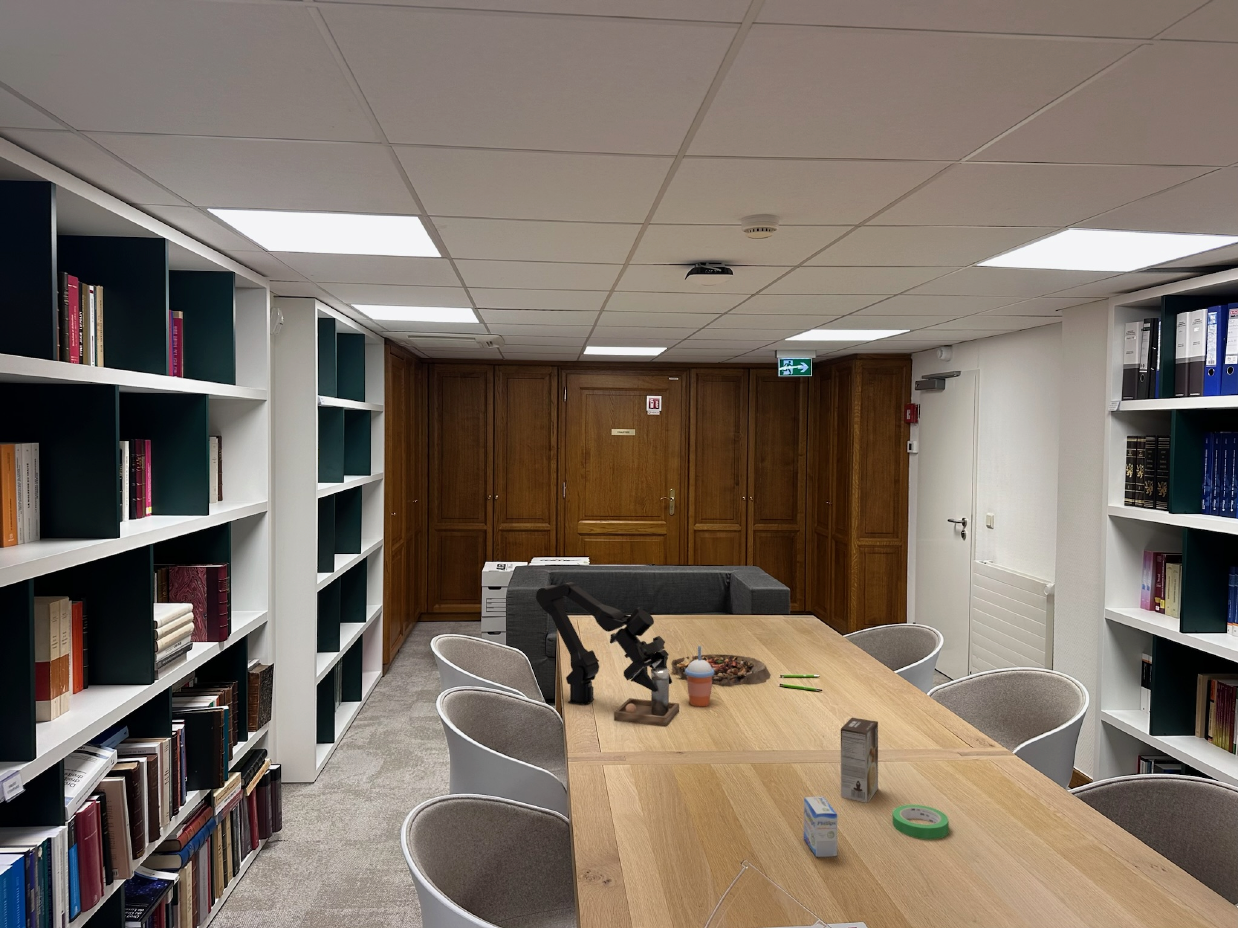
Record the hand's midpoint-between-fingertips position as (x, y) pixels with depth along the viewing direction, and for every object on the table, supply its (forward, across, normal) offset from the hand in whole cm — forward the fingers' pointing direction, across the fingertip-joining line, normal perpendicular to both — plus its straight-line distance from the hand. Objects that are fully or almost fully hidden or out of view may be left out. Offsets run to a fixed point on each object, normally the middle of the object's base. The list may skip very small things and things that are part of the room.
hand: (663, 687), depth 240 cm
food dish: (+3, +51, +10) cm, 53 cm away
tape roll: (+63, -33, -49) cm, 86 cm away
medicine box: (+52, -52, -39) cm, 83 cm away
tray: (+3, -1, +10) cm, 10 cm away
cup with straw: (+9, +17, +4) cm, 20 cm away
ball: (-1, -5, +10) cm, 12 cm away
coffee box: (+52, -23, -39) cm, 69 cm away
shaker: (+5, 0, +7) cm, 8 cm away
